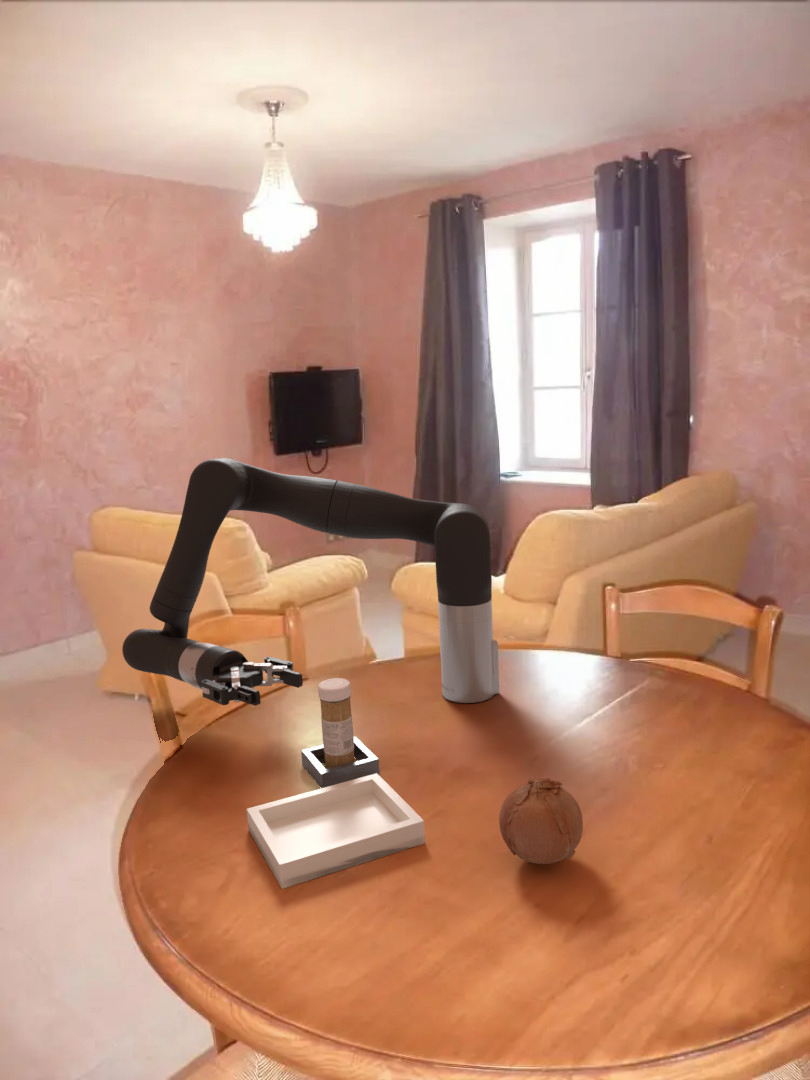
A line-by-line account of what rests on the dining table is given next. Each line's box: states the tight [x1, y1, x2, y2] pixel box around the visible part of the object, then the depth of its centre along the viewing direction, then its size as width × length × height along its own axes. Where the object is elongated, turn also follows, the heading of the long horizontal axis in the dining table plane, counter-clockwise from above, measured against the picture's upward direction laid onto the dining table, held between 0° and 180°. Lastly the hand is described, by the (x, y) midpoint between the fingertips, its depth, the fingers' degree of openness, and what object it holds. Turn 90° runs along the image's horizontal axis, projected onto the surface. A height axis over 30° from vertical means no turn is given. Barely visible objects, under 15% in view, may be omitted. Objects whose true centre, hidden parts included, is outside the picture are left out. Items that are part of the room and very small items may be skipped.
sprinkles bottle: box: [317, 677, 356, 769], centre depth 118 cm, size 5×5×13 cm
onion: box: [498, 777, 584, 866], centre depth 94 cm, size 10×9×10 cm
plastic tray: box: [246, 773, 426, 890], centre depth 102 cm, size 18×14×3 cm
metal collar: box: [300, 736, 380, 789], centre depth 119 cm, size 9×9×2 cm
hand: (280, 689), depth 125 cm, fingers open, 8 cm apart
